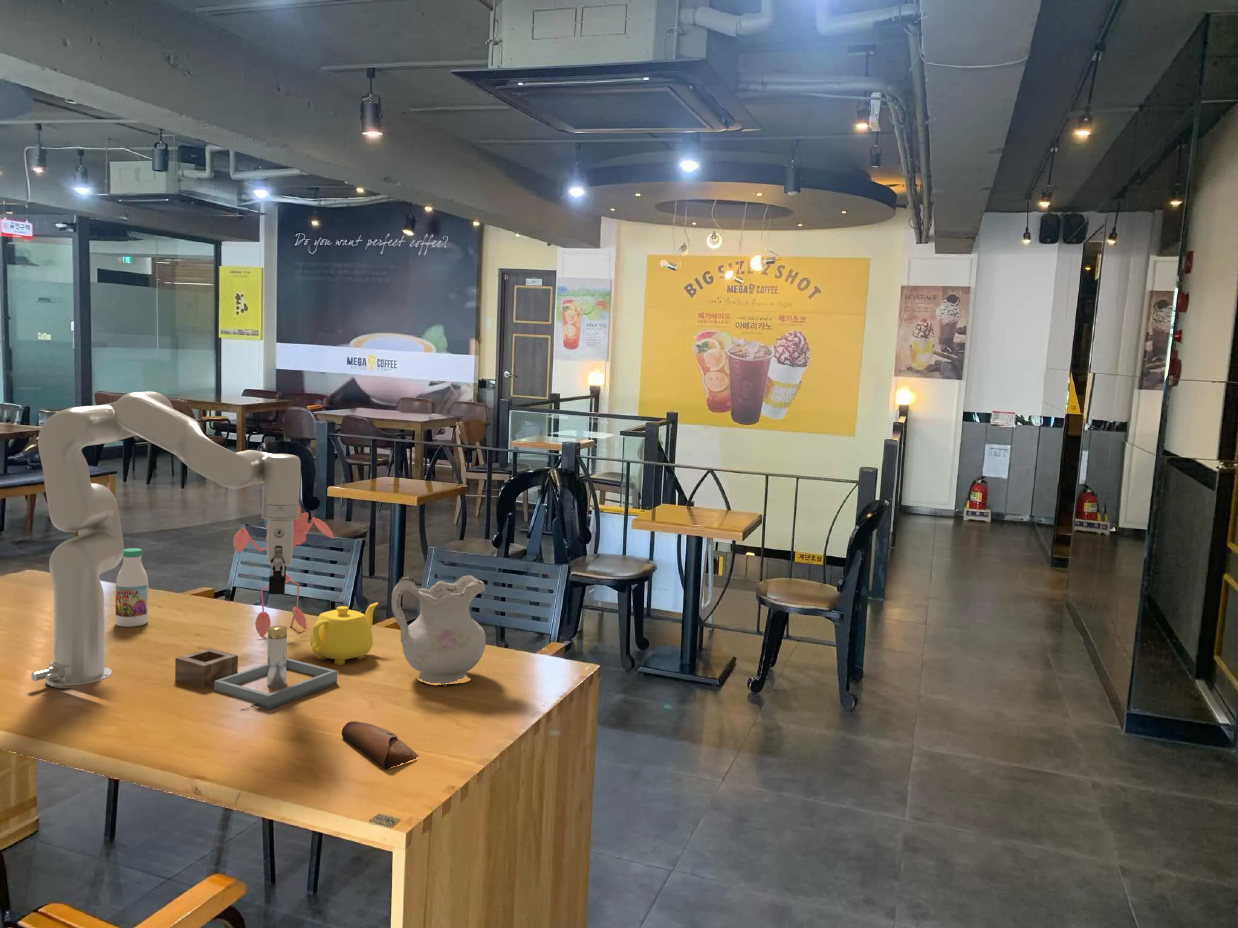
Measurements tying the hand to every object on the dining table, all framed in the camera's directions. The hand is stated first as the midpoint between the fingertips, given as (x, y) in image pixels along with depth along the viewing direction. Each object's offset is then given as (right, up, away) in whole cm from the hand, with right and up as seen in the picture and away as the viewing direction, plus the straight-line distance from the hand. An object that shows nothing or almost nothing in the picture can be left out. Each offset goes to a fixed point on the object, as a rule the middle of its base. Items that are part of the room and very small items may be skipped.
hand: (277, 588), depth 205 cm
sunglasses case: (+29, -28, -26) cm, 48 cm away
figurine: (-13, -18, +41) cm, 47 cm away
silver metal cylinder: (-1, -22, +2) cm, 22 cm away
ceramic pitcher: (+32, -23, +15) cm, 42 cm away
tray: (-1, -23, +2) cm, 23 cm away
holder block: (-17, -22, +4) cm, 28 cm away
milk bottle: (-55, -15, +44) cm, 72 cm away
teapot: (+7, -21, +27) cm, 35 cm away
